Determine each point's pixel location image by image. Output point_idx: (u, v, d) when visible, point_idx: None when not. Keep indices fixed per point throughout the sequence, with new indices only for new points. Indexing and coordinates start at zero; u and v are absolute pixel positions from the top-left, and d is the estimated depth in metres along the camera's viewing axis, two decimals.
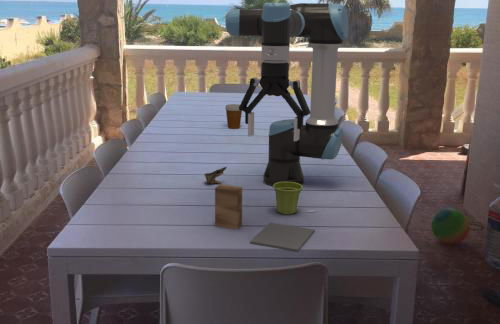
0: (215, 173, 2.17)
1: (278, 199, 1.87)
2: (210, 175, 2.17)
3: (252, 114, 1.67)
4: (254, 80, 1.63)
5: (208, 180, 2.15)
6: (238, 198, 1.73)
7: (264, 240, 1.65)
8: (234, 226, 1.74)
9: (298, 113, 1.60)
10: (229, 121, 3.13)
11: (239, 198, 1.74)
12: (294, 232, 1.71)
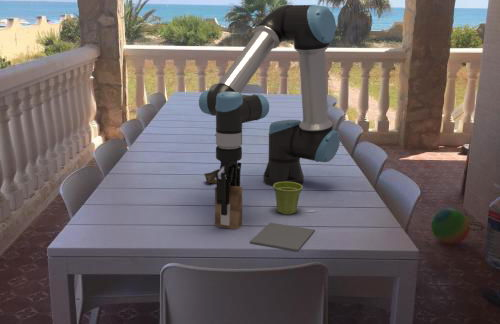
0: None
1: (278, 199, 1.87)
2: (210, 175, 2.17)
3: None
4: None
5: (208, 180, 2.15)
6: (238, 198, 1.73)
7: (264, 240, 1.65)
8: (234, 226, 1.74)
9: None
10: None
11: (239, 198, 1.74)
12: (294, 232, 1.71)
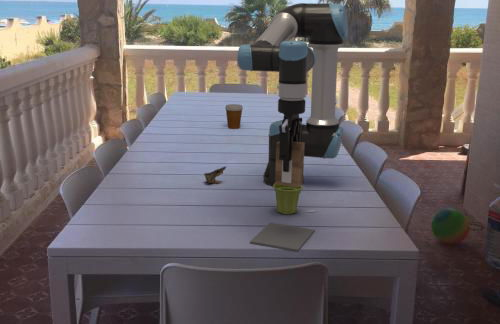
0: (215, 173, 2.17)
1: (278, 199, 1.87)
2: (210, 175, 2.17)
3: None
4: None
5: (208, 180, 2.16)
6: (301, 154, 1.64)
7: (264, 240, 1.65)
8: (296, 183, 1.66)
9: None
10: (229, 121, 3.13)
11: (301, 154, 1.65)
12: (294, 232, 1.71)
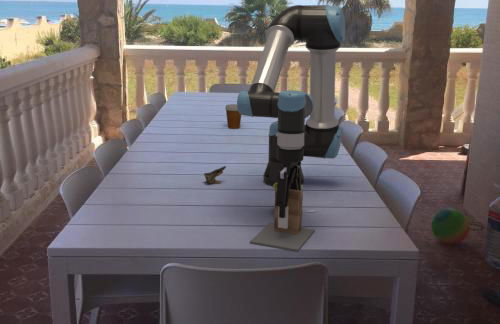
0: (215, 172, 2.17)
1: None
2: (210, 175, 2.17)
3: None
4: None
5: (208, 180, 2.16)
6: (299, 202, 1.68)
7: (264, 240, 1.65)
8: (294, 231, 1.69)
9: None
10: (229, 121, 3.13)
11: (300, 202, 1.69)
12: None
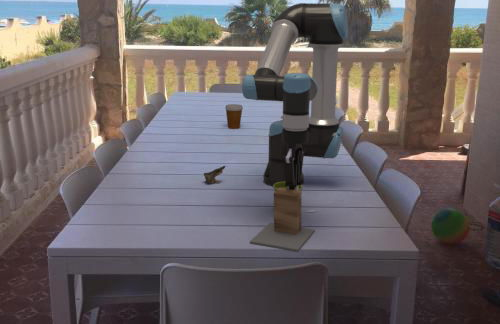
0: (215, 172, 2.18)
1: None
2: (210, 174, 2.18)
3: None
4: None
5: (208, 179, 2.16)
6: (298, 203, 1.67)
7: (264, 240, 1.65)
8: (294, 231, 1.69)
9: None
10: (229, 121, 3.13)
11: (299, 203, 1.68)
12: None
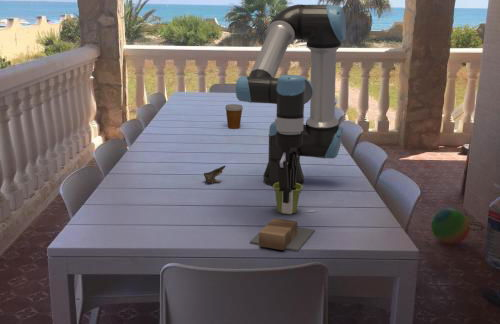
0: (215, 172, 2.18)
1: (278, 199, 1.87)
2: (210, 174, 2.18)
3: None
4: None
5: (208, 179, 2.16)
6: (286, 242, 1.61)
7: None
8: None
9: None
10: (229, 121, 3.13)
11: (286, 239, 1.61)
12: None
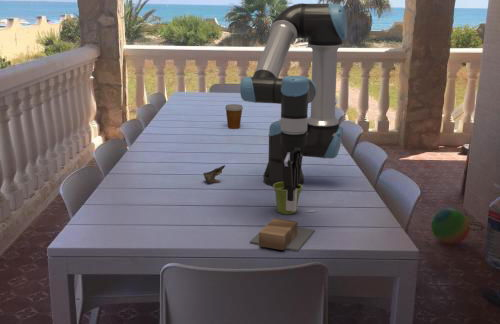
0: (215, 172, 2.18)
1: (278, 199, 1.87)
2: (210, 174, 2.18)
3: None
4: None
5: (208, 179, 2.16)
6: (286, 242, 1.61)
7: None
8: None
9: None
10: (229, 121, 3.13)
11: (286, 239, 1.61)
12: None
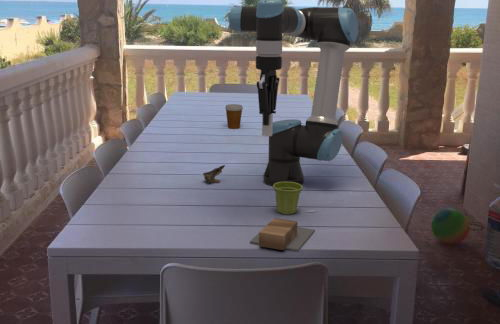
0: (214, 172, 2.18)
1: (278, 199, 1.87)
2: (209, 174, 2.18)
3: None
4: None
5: (208, 179, 2.17)
6: (286, 242, 1.61)
7: None
8: None
9: None
10: (229, 121, 3.13)
11: (286, 239, 1.61)
12: None
